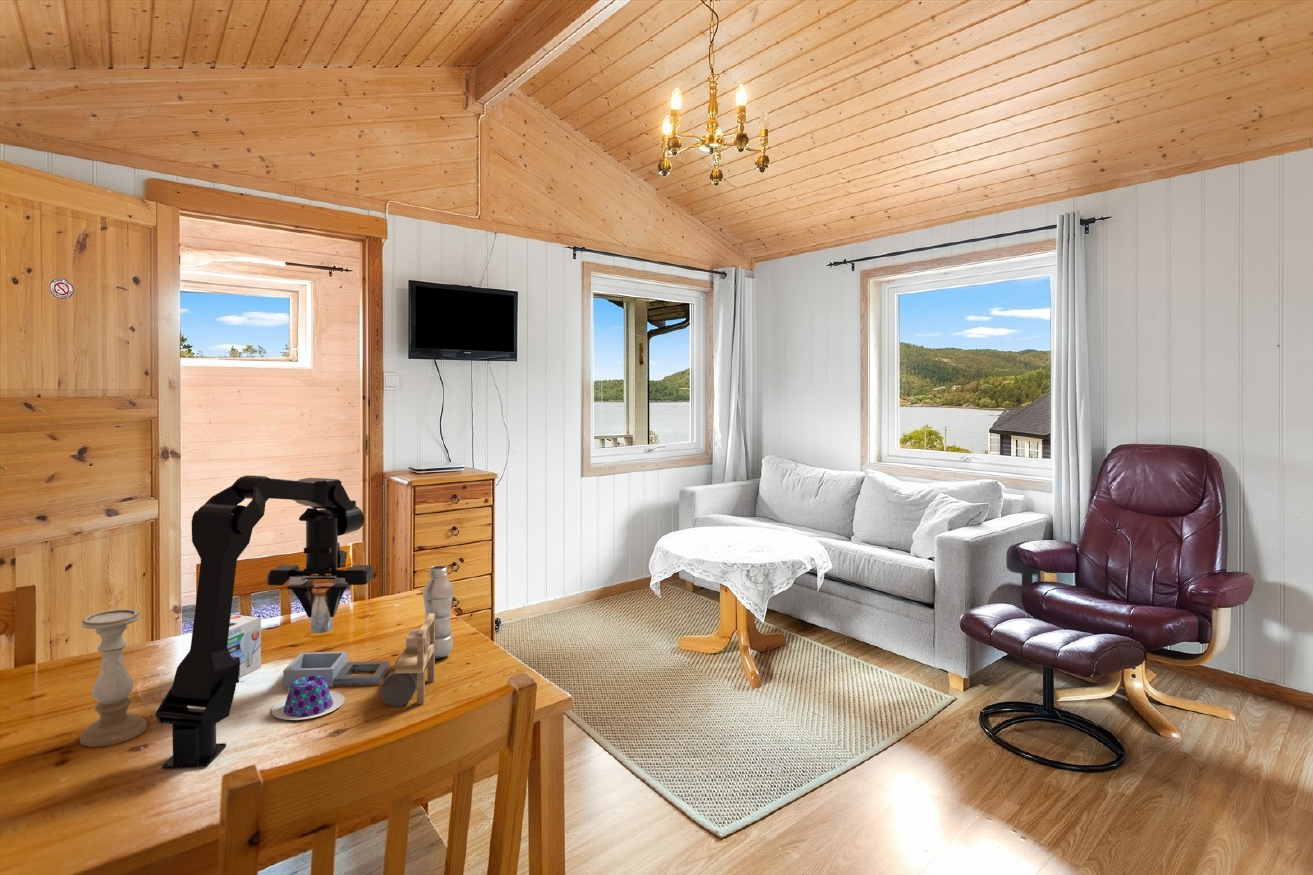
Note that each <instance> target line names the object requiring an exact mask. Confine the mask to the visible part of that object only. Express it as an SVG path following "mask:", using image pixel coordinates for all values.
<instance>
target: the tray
mask: <svg viewBox="0 0 1313 875" xmlns="http://www.w3.org/2000/svg"><path fill="white" fill-rule="evenodd" d="M348 656H349V654H348V651H325V652H324V651H321V652H300V653H299V654H298V655H297V656H296V657H295V658H294V659H293V660H292V661H291V662H290V663H289V664H288V665H287V666H286V667H285V668H284V669H283V671H282V673H283V676H282V677H283V682H282V684H283V685H282V686H283V690H284V689H289V688H290V686H291V684H292V683H293V682H294V681H295V680H296V679H299V678H302V677H305V676H314V675H318V676H320V677H324V678H325V679H326V681H327V684H328V688H334V687H335V686H334V679H335V677H336V676H337V675H338V674H339V672H340V671H341V670H342V669H343V667H344V666H345V665H346V664H347V663H348V662H349V658H348Z"/></svg>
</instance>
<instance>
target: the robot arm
mask: <svg viewBox="0 0 1313 875" xmlns="http://www.w3.org/2000/svg"><path fill="white" fill-rule="evenodd" d="M245 499H249V500H250V501H249V503H248V504H247V505H246V506H245V505H242V504H241V503H242V502H244V501H245ZM270 499H273V500H276V499H277V500H291V501H294V502H295V503H296V504H298V505H302V506H305V507H308V508H306V510H305V511H304V512H303V513H302V514H301V515H299V517H298V520H299V521H300V522H305V547H303V554H305V568H303V569H300V567H299V565H298V564H293V565H292V564H280V565H278V566H276V567H275V568H272V569H270V570H269V572H268V573H267V576H266V585H268V586H284V585H285V584H286V583H287V582H288V585H287V586H286V587H287V589H288V590H291V591H292V592H293V593H294V595H295V596H296V597H297V599H298V601H299V602H300V604H301V606H302V608H303V610H304V612H305V614H306V616H307V617H308V618H310V619H311V593H309V586H311V585H313V584H314V580H334V582H335V583H333V584H334V585H333V586H331V599H330V613H331V617H333V618H334V617H335V616H336V614H337V612H338V611H337V610H338V608H339V605H340V602H341V600H342V597H343V595H344V593H345V591H346V589H348V588H349V587H350V586H363V585H364V586H365V585H367V584H368V583H369V582H371V581H372V580H373V579H374V575H375V570H374V568H373V566H372V564H353V565H352V566H350V567H349V568H348V569H341V568H346V566H347V558H348V552H347V551H344V550H342V549H341V545H340V542H338V540H339V538H338V537H339V536H344V535H348V534H349V533H353V532H356V531H359V530H360V529H361V528H362V527H363V526H364V524H365V515H364V513H363V511H362V509H361V508H360V507H359V506H357V501H356V500H351V498H350V497H349V495H348V492H346V489H345V487H344V485H343V484H342V481H341V480H340V479H338V478H326V477H325V478H321V477H306V478H299V479H298V480H293V479H292V480H291V479H284V478H283V479H282V478H274V477H273V478H271V477H268V476H265V475H247V474H246V475H243V476H240V477H238V478H237V479H236V480H235V482H234V483H233V484H232V485H231V486H229V487H226V488H225V489H223V490H221V491H220V492H217V493H216V494H214V495H212V496H211V497H210V498H209V499H208V500H207V501H206V502H205V503H204V504H203V505H201V506H200V507H199V508H198V509H197V510H195V511H194V513H193V515H192V518H191V542H192V544H193V547H194V548H195V551H196V552H197V554H198V556H199V558H200V563H199V574H198V580H197V588H196V589H197V591H196V596H195V597H196V598H195V606H194V608H195V609H194V615H193V623H192V624H193V625H192V633H191V642H190V649H189V651H188V653H186V655H185V657H184V658H182V661H181V662H180V663H179V665H177V667H176V671H175V674H174V678H173V682H172V685H171V687H170V689H169V690H168V692H167V693H166V695H165V697H164V698H163V700H162V701H161V703H160V705H159V707H158V708H157V710H156V711H155V714H154V715H155V717H156V718H155V719H156V720H157V723H158V724H160V725H163V724H165V725H171V726H172V730H171V732H172V755H171V757H169V758H168V759H167V760H165V762H164V763H163V764H162V765H161V769H163V770H169V769H172V770H174V769H193V768H206V767H208V766H209V765H210V764H211V763H212V762H213V761H214V760H215V759H216V758H217V757H218V756H219V755H220V754H221V753H222V752H223V751H224V750H225V748H227V744H226V743H224V742H222V743H221V742H219V743H217V724H218V723H219V722H221V721H223V720H224V719H226V718H228V717H229V716H230V713H231V709H232V705H233V701H234V696H235V693H236V688H237V684H238V683H240V680H239V679H240V678H238V672H239V667H240V658H239V657H232V656H231V655H230V653H229V651H228V649H227V643H228V634H229V625H230V616H232V607H233V596H234V589H235V588H234V587H235V578H236V570H237V564H238V563H237V561H238V558H239V557H240V556H241V555H242V553H243V552H244V551H245V549H246V548H247V547H248V546H249V544H250V542H251V538H252V534H253V530H254V529H253V528H255V527H256V525H257V524H259V521H261V519H262V518H263V517H264V516H265V513H266V512H265V511H266V510H265V509H266V502H268V500H270ZM309 507H310V508H309Z"/></svg>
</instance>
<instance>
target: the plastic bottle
mask: <svg viewBox="0 0 1313 875" xmlns="http://www.w3.org/2000/svg"><path fill="white" fill-rule="evenodd" d="M428 577H429V578H430V579H429V580H428V581H427V583H426V584H425V585H424V588H423V591H422V597H423V605H424V616H425V618H424V620H426V619H427V617H428V615H429V614H430V613H435V649H434V650H435V660H436V659H441V658H446V657H448V656H449V655H450V654H451V653H452V651H453V647H454V640H453V635H452V626H451V625H452V623H451V622H452V621H451V619H452V618H451V615H452V604H453V599H454V587H453V585H452V583H451V582H450V580H449V579H448V578H447V577H448V567H447V566H446V565H435V566H434V565H433V566H431V567H429V574H428Z"/></svg>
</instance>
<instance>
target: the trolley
mask: <svg viewBox="0 0 1313 875" xmlns="http://www.w3.org/2000/svg"><path fill="white" fill-rule="evenodd" d="M424 620H425V619H424ZM434 649H435V613H430V614H429V615H428V617H427V619H426V620H425V621H424V622H423V624H422V625H421V627H420V629H411V630H410V631H409V633H408V634H407V637H406V638H405V648H404V650H403V652H402V653H401V654H400V655H399V657H398V658H397V660H396V661H395V663H394V665H393V671H391V672H390V673H389V674H388V675H387V676H385V677H386V678H384V680H383V682H382V683H381V686H380V691H379V692H380V697H381V699H382V700H383V701H384V703H386V704H387V705H389V706H392V707H402V706H405V705H406V704H408V703H409V702H410V701H411V700H413V699H412V698H413V696H414V695H415V692H416V705H425V701H426V700H425V699H426V681H427V683H434V682H435V680H436V679H435V678H436V676H435V675H436V671H435V670H436V667H435V666H436V662H435V661H436V659H435V650H434ZM426 670H427V674H426ZM426 675H427V676H426ZM426 678H427V679H426Z"/></svg>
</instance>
